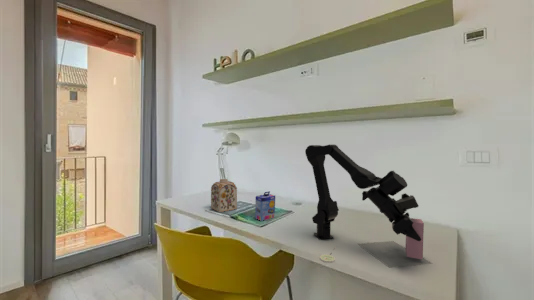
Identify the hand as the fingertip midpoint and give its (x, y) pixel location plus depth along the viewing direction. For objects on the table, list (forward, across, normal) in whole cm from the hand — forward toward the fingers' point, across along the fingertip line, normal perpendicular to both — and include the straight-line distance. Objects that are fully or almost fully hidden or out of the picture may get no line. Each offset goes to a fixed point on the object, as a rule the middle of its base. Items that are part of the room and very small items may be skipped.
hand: (418, 237), depth 85 cm
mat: (0, +3, +11) cm, 12 cm away
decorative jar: (-62, +31, +74) cm, 102 cm away
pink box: (+3, 0, +5) cm, 6 cm away
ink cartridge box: (-41, +23, +53) cm, 71 cm away
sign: (-14, -6, +26) cm, 30 cm away
